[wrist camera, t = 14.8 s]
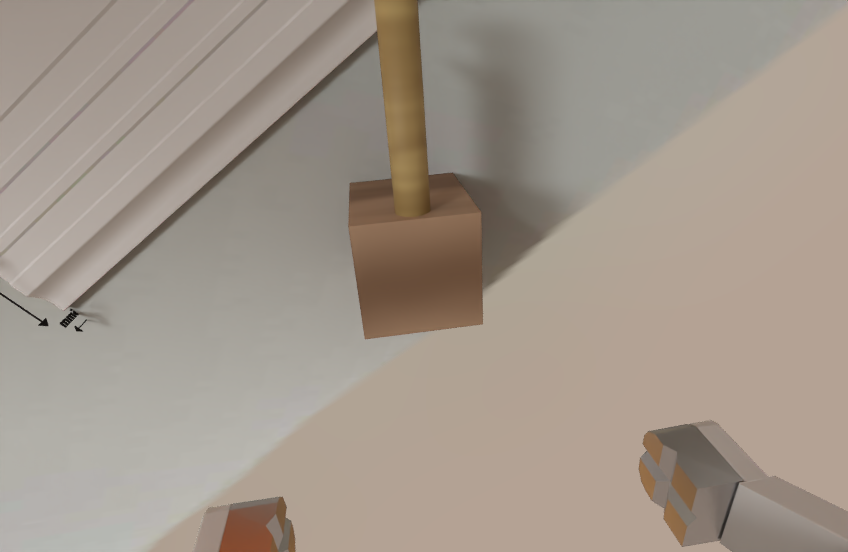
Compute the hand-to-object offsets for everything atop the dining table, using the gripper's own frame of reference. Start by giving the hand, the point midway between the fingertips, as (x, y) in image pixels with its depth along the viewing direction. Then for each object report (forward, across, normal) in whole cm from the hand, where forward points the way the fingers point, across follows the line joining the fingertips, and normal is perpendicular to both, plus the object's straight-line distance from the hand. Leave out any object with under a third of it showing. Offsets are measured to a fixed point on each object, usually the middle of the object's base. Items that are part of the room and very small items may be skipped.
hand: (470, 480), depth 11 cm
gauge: (+16, 0, -4) cm, 16 cm away
